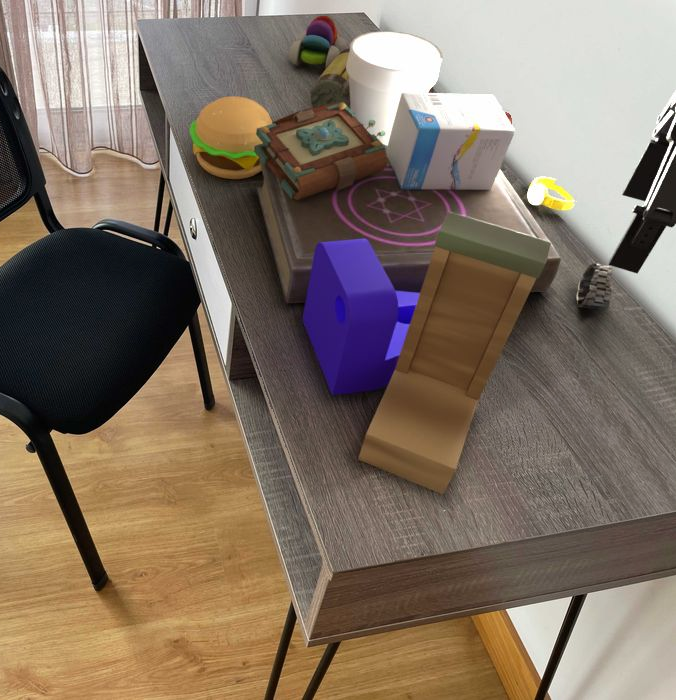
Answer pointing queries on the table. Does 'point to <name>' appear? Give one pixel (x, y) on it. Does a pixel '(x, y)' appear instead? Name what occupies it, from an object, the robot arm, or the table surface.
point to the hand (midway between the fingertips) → (629, 230)
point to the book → (384, 225)
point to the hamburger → (229, 137)
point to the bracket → (355, 316)
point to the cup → (388, 75)
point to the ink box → (448, 141)
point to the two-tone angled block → (452, 348)
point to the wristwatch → (595, 287)
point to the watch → (540, 195)
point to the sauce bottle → (333, 83)
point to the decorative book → (320, 151)
